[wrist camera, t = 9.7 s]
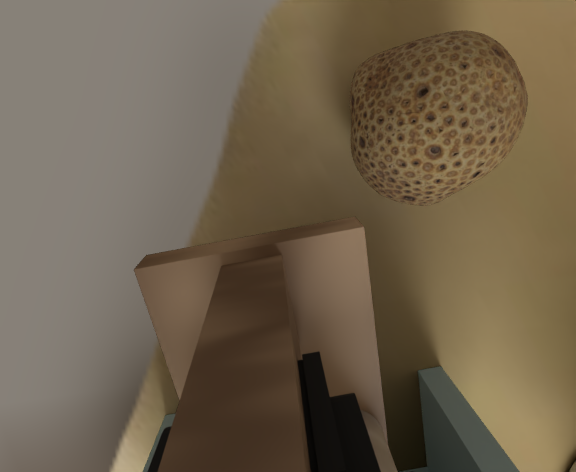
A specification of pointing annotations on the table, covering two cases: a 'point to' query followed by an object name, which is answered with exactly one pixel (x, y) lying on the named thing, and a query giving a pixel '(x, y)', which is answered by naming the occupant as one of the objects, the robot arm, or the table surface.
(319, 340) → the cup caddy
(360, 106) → the natural sponge
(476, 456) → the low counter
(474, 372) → the table surface
